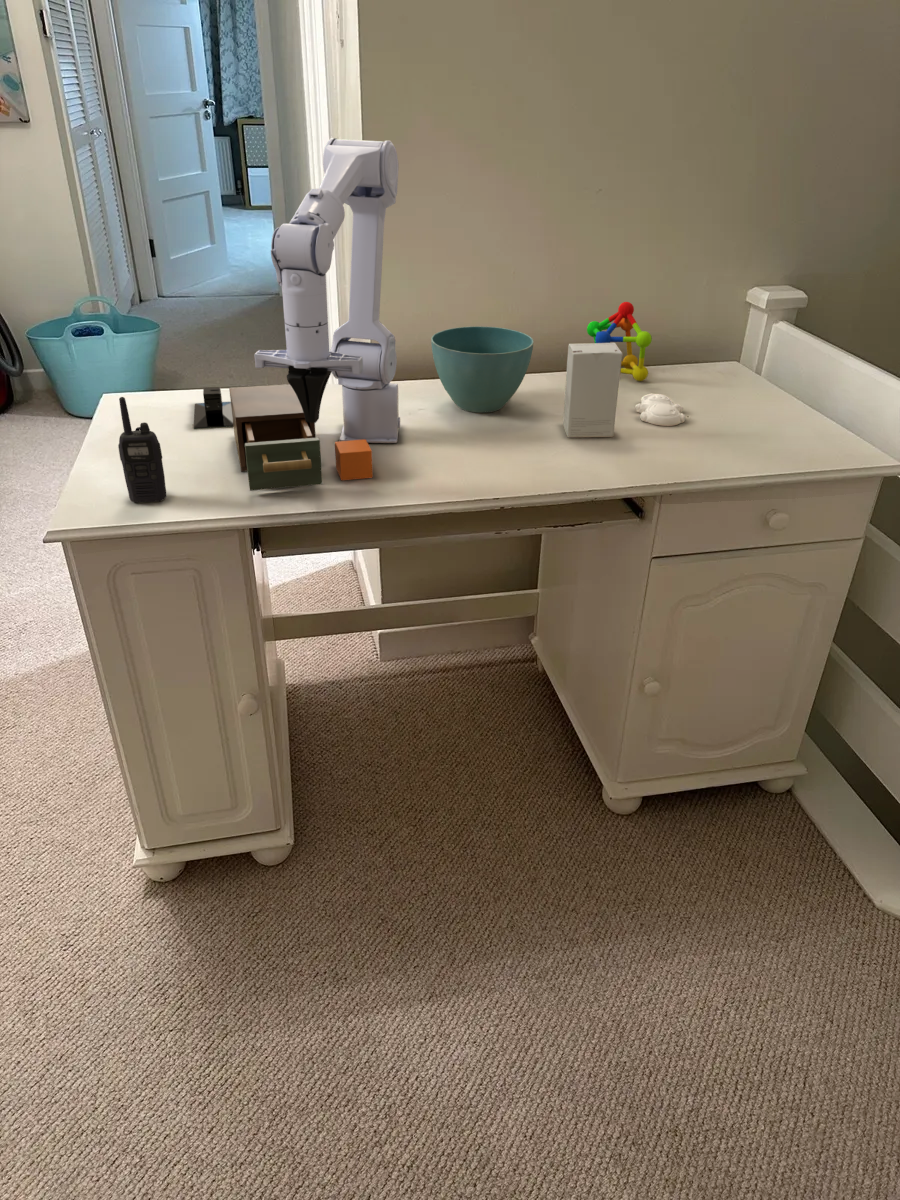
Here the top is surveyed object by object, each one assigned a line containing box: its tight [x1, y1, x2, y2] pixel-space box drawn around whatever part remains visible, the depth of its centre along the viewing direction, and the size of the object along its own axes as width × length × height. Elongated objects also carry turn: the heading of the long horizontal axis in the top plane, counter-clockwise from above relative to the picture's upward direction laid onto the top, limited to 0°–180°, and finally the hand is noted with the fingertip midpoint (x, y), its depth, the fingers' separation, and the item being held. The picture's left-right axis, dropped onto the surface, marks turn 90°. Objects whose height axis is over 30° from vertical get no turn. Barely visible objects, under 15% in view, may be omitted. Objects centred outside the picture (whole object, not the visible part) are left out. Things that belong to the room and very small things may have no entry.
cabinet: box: [228, 383, 317, 473], centre depth 136 cm, size 14×12×9 cm
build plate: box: [191, 386, 234, 430], centre depth 150 cm, size 12×7×5 cm, turn 13°
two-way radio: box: [117, 396, 167, 504], centre depth 119 cm, size 6×4×15 cm
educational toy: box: [586, 301, 653, 382], centre depth 173 cm, size 16×13×15 cm
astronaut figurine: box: [634, 393, 686, 427], centre depth 157 cm, size 9×12×3 cm
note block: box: [334, 439, 373, 481], centre depth 131 cm, size 5×5×4 cm
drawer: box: [244, 418, 323, 492], centre depth 126 cm, size 18×10×7 cm, turn 16°
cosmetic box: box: [562, 342, 623, 438], centre depth 145 cm, size 8×6×15 cm
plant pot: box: [430, 325, 534, 414], centre depth 156 cm, size 18×18×12 cm
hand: (312, 420), depth 121 cm, fingers closed
